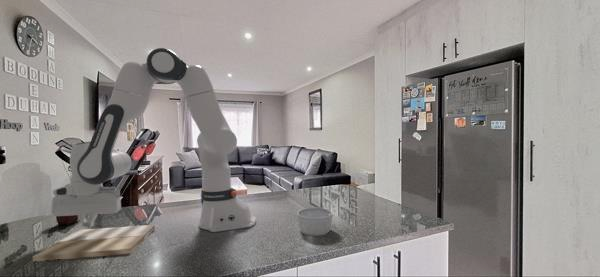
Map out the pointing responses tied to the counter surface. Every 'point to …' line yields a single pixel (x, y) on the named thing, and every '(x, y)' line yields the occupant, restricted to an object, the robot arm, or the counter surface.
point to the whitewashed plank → (110, 233)
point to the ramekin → (314, 221)
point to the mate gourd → (66, 220)
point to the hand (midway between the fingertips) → (88, 226)
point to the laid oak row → (89, 248)
